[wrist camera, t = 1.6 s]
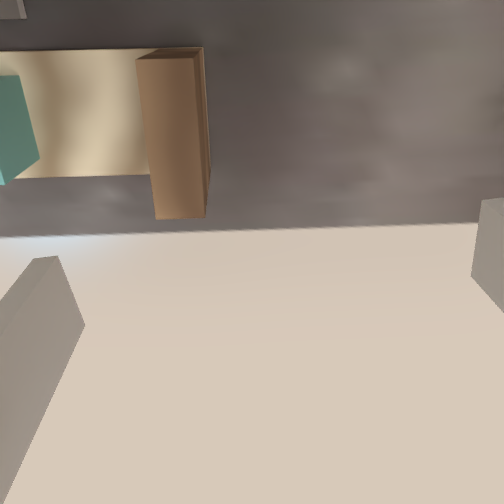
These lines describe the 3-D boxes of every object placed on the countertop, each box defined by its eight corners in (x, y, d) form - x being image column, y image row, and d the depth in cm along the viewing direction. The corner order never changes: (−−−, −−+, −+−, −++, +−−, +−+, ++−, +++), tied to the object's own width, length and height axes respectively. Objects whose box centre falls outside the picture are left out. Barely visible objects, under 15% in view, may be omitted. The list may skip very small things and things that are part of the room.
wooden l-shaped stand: (-90, 177, 35) (-198, 231, 26) (-140, 54, 31) (-290, 69, 22) (210, 168, 36) (205, 217, 27) (203, 46, 31) (193, 58, 23)
